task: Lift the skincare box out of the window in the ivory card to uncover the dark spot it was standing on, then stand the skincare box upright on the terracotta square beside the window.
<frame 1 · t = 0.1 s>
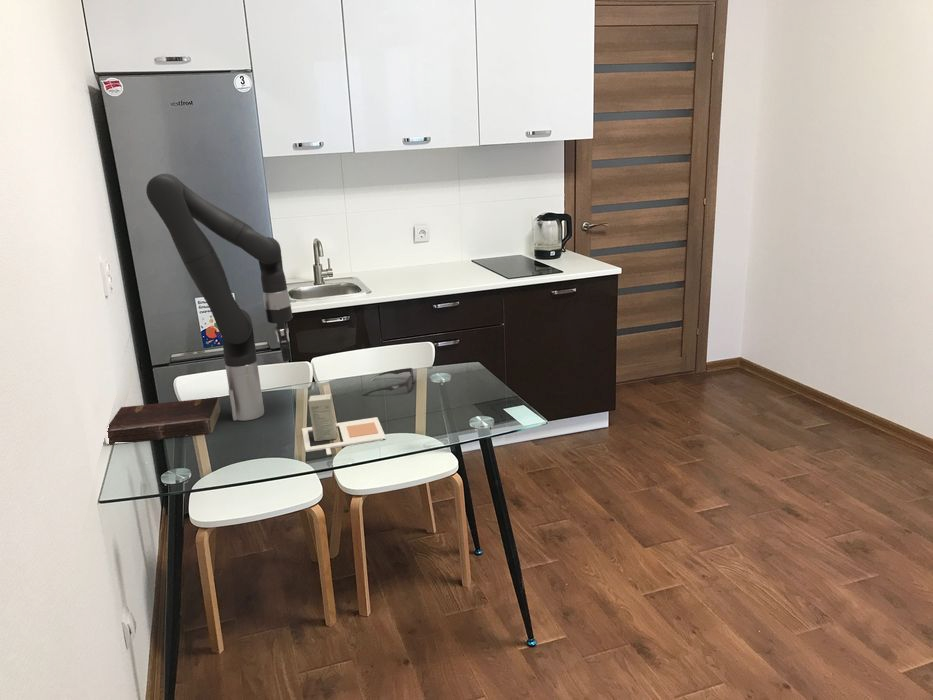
hand: (286, 356, 226), 17 cm above the table, tool pointing down, fingers open, 8 cm apart
skincare box: (325, 438, 210), resting in window card
hardback book: (166, 429, 223), on the table
window card: (343, 434, 211), on the table
sunglasses: (389, 388, 247), on the table
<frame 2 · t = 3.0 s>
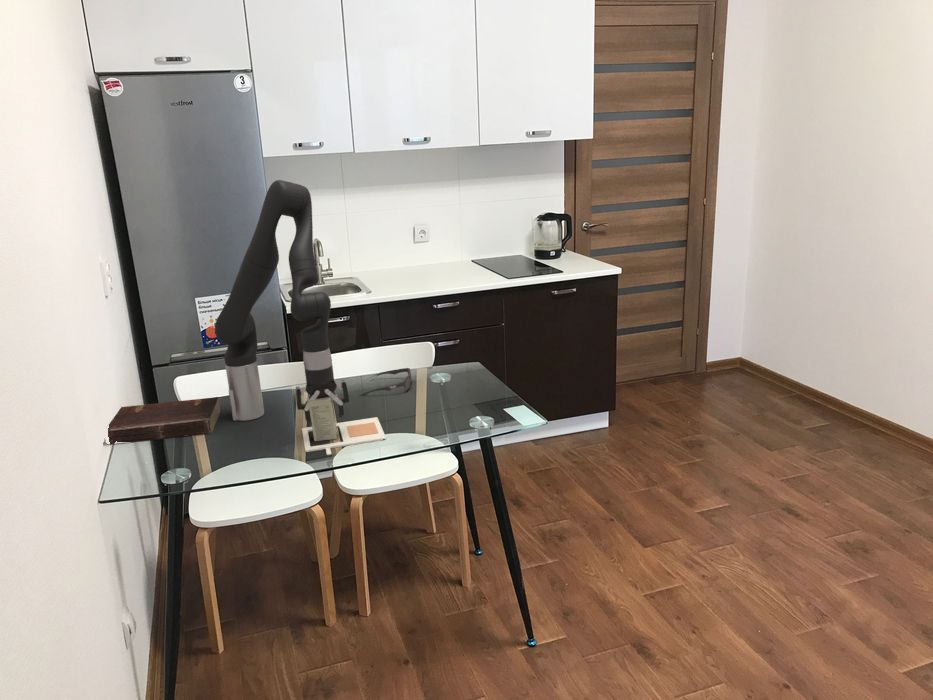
hand: (325, 419, 208), 5 cm above the table, tool pointing down, fingers open, 8 cm apart
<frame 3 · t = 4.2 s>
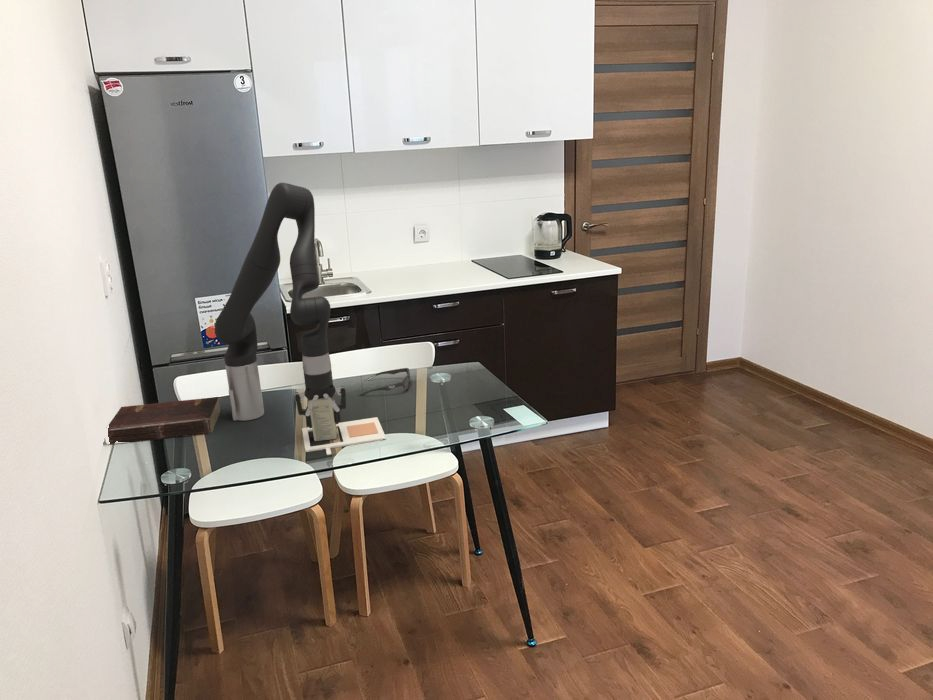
hand: (324, 425, 208), 4 cm above the table, tool pointing down, fingers closed on skincare box, 6 cm apart
skincare box: (325, 438, 209), resting in window card, touching gripper
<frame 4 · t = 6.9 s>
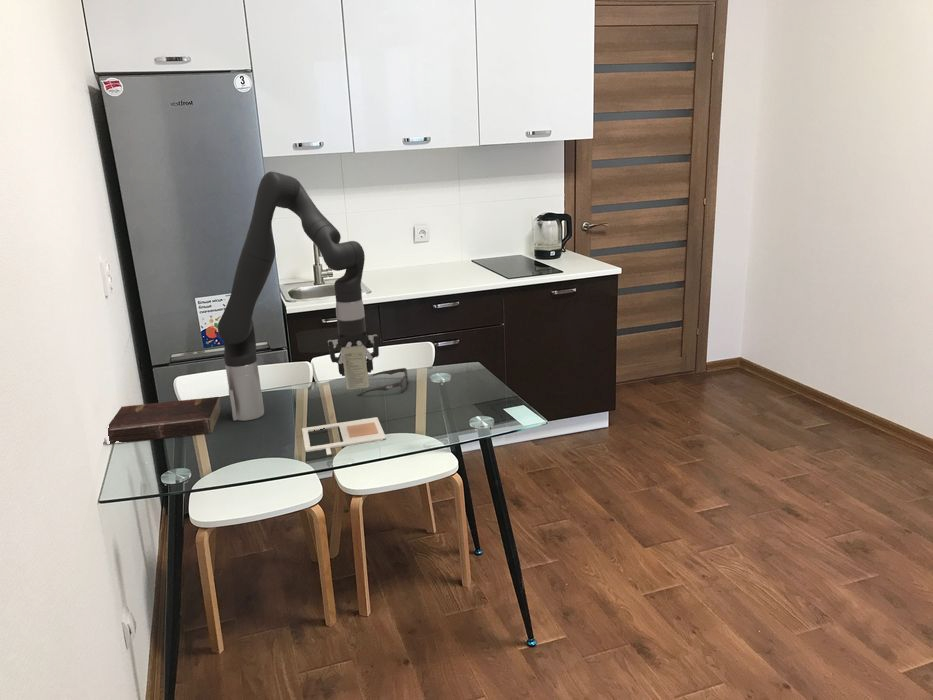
hand: (356, 373, 207), 18 cm above the table, tool pointing down, fingers closed on skincare box, 6 cm apart
skincare box: (357, 386, 208), point 14 cm above the table, touching gripper
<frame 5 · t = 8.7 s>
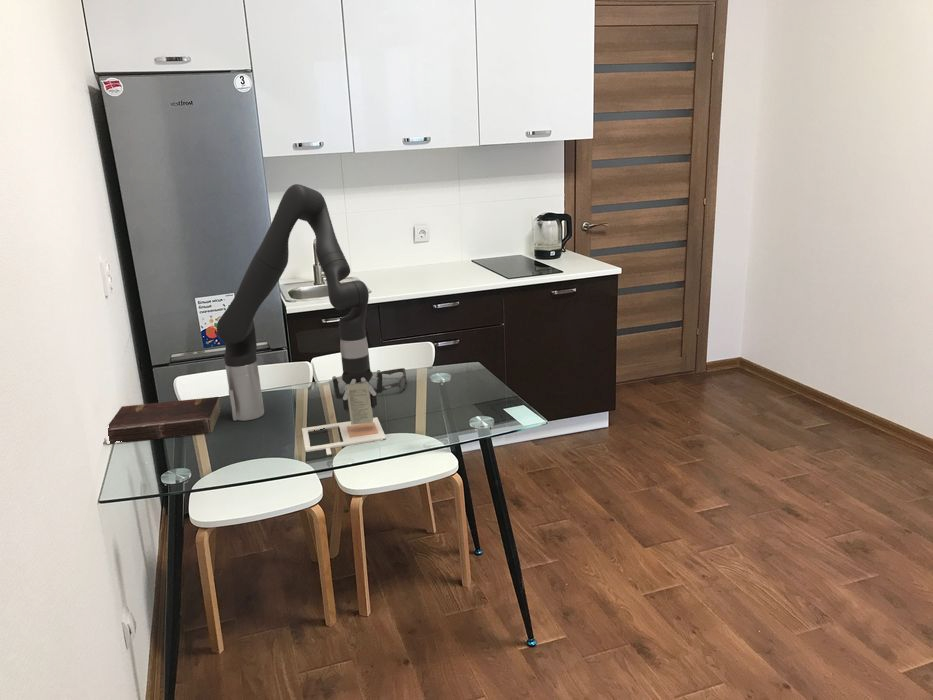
hand: (360, 409, 210), 7 cm above the table, tool pointing down, fingers closed on skincare box, 6 cm apart
skincare box: (361, 422, 211), point 3 cm above the table, touching gripper
when the fingers open (6 cm above the table, at t = 10.0 s): skincare box drops 1 cm, resting on window card.
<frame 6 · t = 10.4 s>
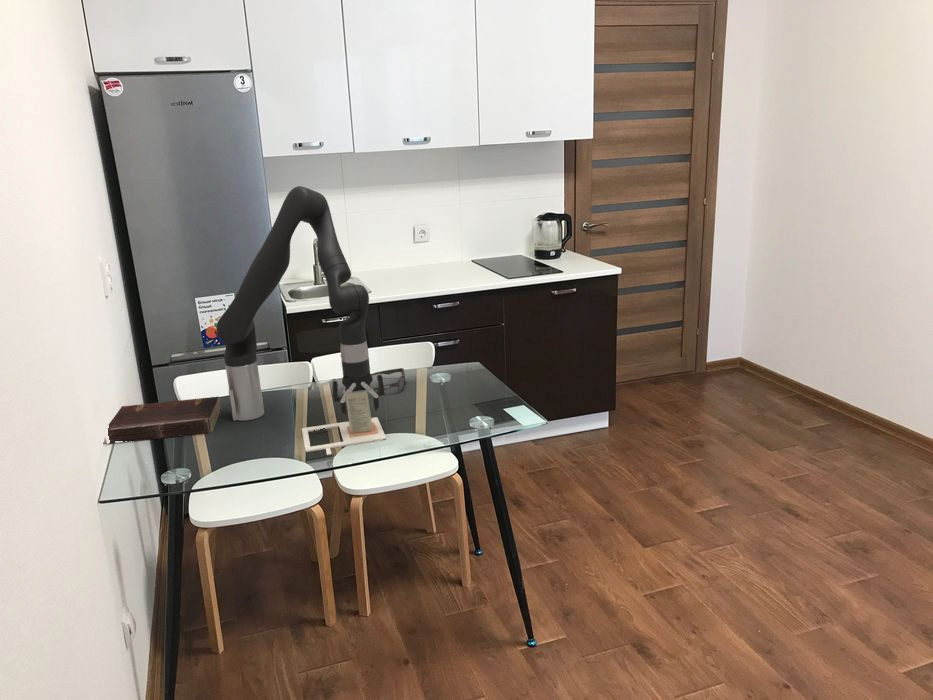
hand: (360, 411, 210), 6 cm above the table, tool pointing down, fingers open, 8 cm apart
skincare box: (360, 430, 212), point 1 cm above the table, touching window card
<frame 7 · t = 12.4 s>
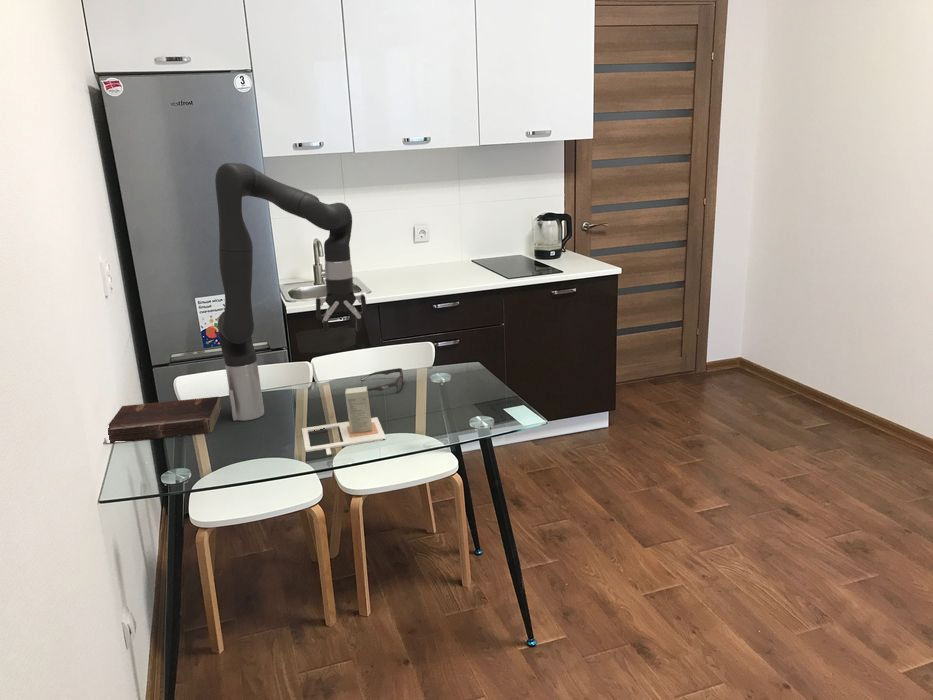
hand: (343, 331, 213), 27 cm above the table, tool pointing down, fingers open, 8 cm apart
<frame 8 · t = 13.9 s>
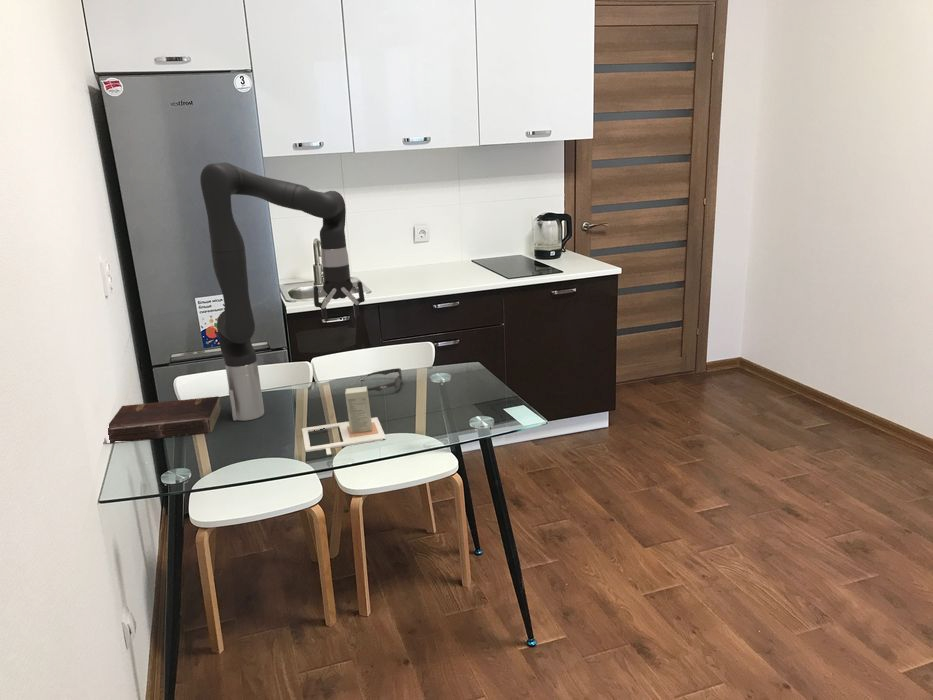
hand: (341, 318, 216), 30 cm above the table, tool pointing down, fingers open, 8 cm apart
at the end: skincare box 0.4 cm from the target spot, point 0.5 cm above the table; skincare box tilted 0°; the gripper is holding nothing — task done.
